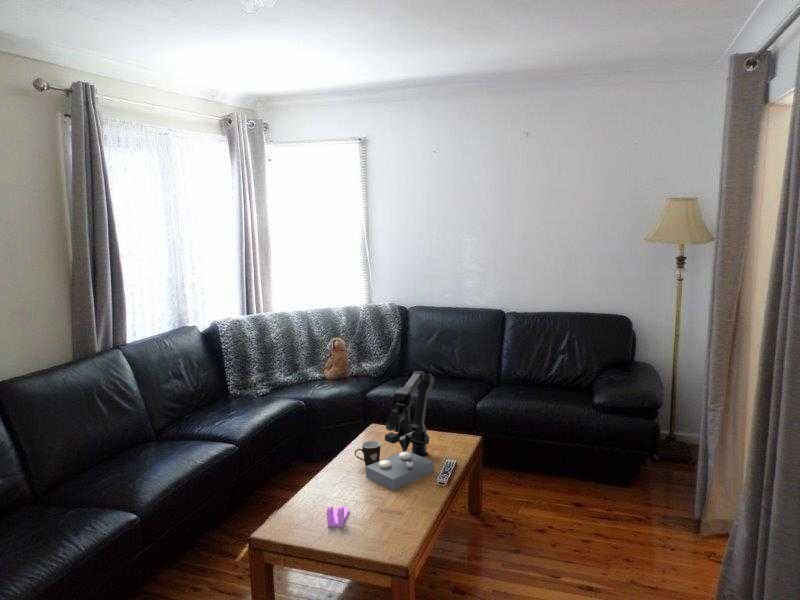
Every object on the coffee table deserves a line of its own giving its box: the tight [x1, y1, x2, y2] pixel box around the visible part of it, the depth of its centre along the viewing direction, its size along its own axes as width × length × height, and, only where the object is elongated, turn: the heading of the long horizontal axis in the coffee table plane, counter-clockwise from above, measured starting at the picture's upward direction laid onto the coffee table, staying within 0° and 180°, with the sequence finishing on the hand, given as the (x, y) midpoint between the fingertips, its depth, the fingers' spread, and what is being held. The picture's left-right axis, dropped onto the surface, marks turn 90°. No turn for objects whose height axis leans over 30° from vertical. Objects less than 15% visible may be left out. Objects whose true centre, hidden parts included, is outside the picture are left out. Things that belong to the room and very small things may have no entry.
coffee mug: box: [354, 440, 382, 467], centre depth 270 cm, size 12×9×10 cm
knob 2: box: [399, 451, 411, 460], centre depth 265 cm, size 5×5×4 cm
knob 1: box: [379, 459, 391, 469], centre depth 257 cm, size 5×5×4 cm
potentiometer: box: [406, 458, 413, 470], centre depth 253 cm, size 3×3×5 cm
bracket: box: [326, 505, 350, 528], centre depth 224 cm, size 13×6×7 cm, turn 171°
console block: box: [365, 450, 434, 492], centre depth 259 cm, size 24×18×5 cm
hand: (404, 451), depth 264 cm, fingers closed
